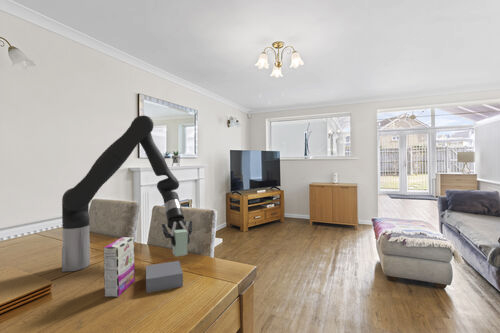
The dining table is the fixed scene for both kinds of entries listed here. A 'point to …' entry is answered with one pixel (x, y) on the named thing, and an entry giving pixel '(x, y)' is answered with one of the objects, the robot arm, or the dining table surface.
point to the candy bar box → (119, 266)
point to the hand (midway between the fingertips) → (181, 244)
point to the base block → (163, 276)
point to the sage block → (180, 242)
